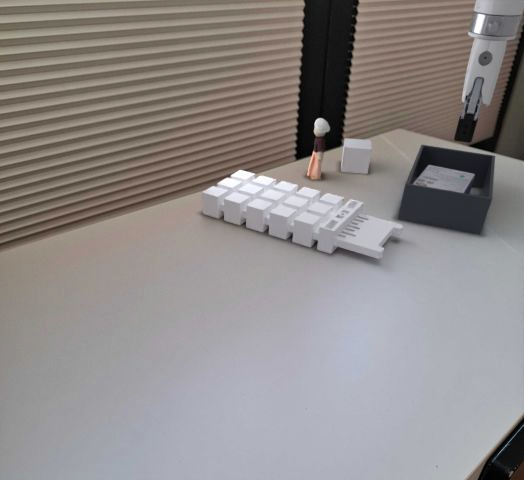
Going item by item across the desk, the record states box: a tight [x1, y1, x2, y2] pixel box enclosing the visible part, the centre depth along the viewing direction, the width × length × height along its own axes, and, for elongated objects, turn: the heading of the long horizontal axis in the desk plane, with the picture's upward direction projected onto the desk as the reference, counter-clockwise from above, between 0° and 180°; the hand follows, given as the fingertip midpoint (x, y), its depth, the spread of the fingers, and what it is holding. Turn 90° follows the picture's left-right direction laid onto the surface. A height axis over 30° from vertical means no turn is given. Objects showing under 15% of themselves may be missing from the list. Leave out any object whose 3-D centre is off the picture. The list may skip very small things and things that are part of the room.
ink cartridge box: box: [413, 165, 475, 194], centre depth 101 cm, size 10×6×14 cm
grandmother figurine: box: [306, 117, 331, 181], centre depth 108 cm, size 8×4×13 cm, turn 6°
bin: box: [397, 144, 496, 236], centre depth 102 cm, size 23×15×8 cm, turn 159°
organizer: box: [201, 169, 404, 260], centre depth 93 cm, size 13×5×35 cm
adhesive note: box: [340, 137, 373, 175], centre depth 115 cm, size 6×6×6 cm
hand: (462, 140), depth 95 cm, fingers closed
